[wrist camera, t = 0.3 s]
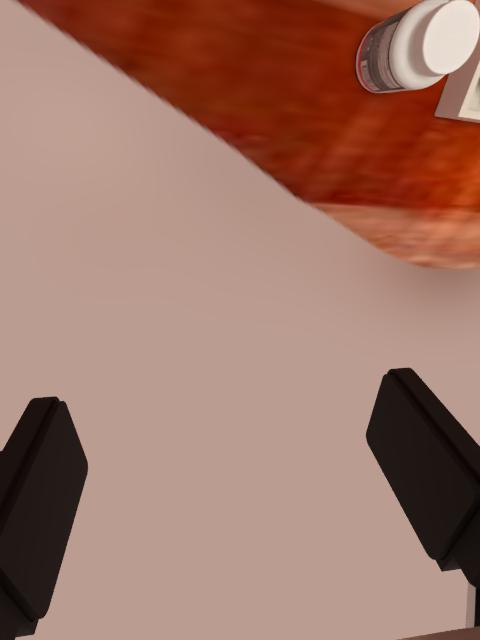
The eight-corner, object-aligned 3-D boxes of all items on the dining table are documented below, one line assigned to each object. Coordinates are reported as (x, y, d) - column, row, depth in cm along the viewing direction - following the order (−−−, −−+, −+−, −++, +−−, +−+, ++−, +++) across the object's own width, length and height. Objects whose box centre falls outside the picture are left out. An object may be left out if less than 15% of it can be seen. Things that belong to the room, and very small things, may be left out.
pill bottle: (417, 19, 30) (504, -17, 21) (403, 92, 33) (476, 85, 24) (358, 20, 29) (424, -15, 21) (350, 95, 32) (405, 89, 24)
